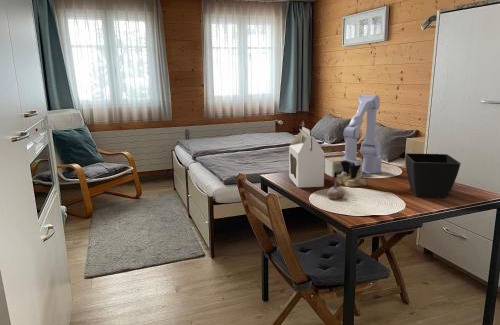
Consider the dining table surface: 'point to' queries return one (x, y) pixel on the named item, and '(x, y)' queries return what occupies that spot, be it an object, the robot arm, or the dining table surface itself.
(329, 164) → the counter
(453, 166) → the flower pot
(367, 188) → the dining table surface
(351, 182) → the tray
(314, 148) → the gable box
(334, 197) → the garlic bulb
